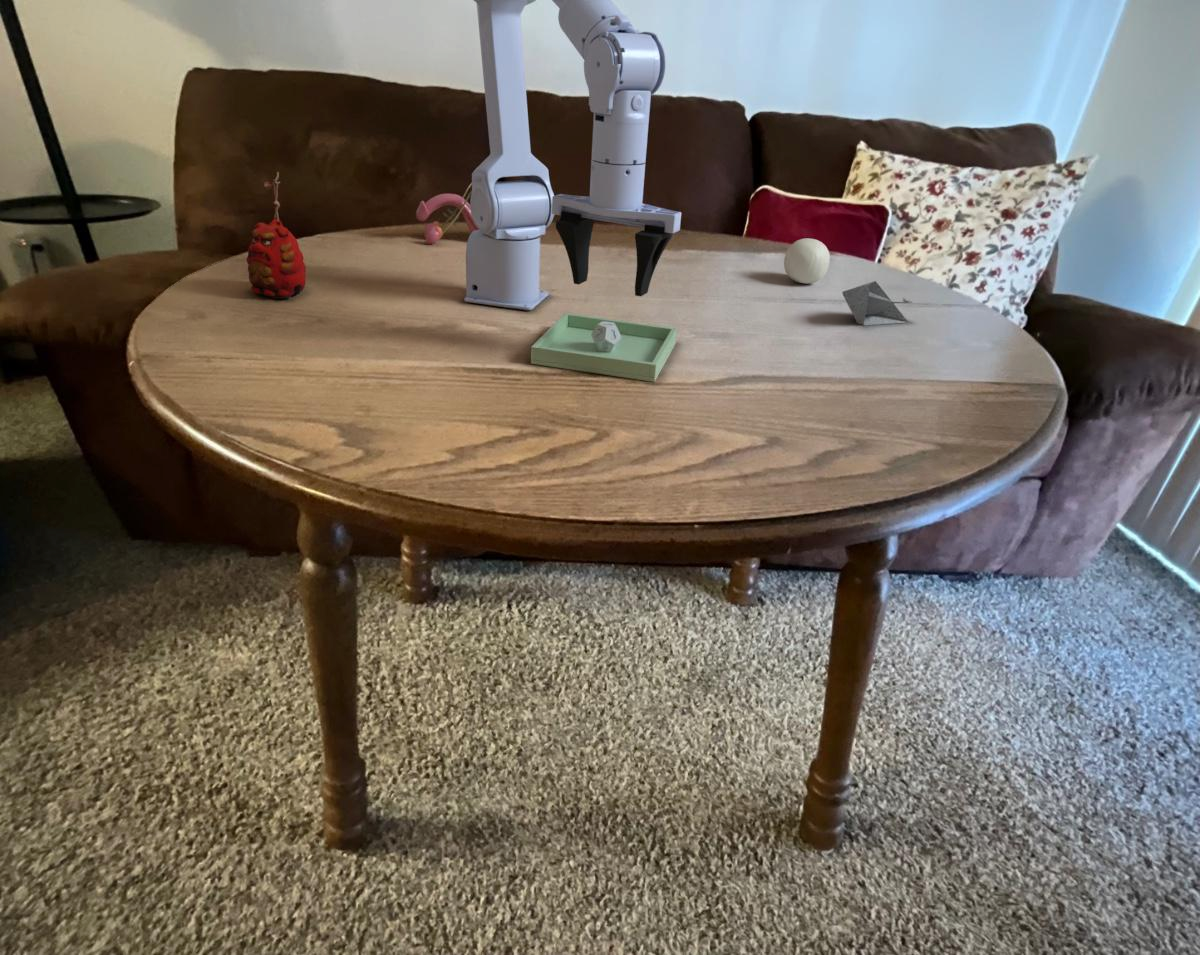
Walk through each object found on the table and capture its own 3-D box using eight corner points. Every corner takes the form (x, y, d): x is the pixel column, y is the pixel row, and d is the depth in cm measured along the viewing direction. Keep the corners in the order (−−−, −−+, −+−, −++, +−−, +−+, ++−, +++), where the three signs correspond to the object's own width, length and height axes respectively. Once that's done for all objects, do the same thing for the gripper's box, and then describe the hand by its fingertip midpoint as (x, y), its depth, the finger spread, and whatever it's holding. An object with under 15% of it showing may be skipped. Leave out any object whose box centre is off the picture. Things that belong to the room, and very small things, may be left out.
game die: (587, 344, 100) (588, 319, 98) (617, 343, 101) (619, 319, 99) (593, 354, 97) (594, 329, 96) (624, 354, 98) (626, 329, 96)
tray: (530, 363, 95) (531, 346, 94) (564, 328, 106) (564, 312, 105) (654, 382, 92) (656, 364, 91) (675, 343, 103) (677, 328, 102)
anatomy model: (403, 214, 143) (461, 145, 140) (464, 267, 150) (521, 203, 147) (406, 228, 134) (468, 155, 131) (471, 284, 141) (532, 216, 138)
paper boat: (872, 299, 121) (935, 297, 115) (862, 341, 121) (924, 342, 114) (833, 262, 113) (898, 258, 106) (821, 307, 112) (886, 306, 106)
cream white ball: (832, 281, 133) (840, 238, 130) (816, 291, 127) (824, 246, 124) (791, 273, 136) (798, 231, 133) (774, 282, 131) (781, 238, 127)
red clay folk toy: (238, 294, 110) (220, 174, 103) (275, 282, 116) (260, 167, 109) (285, 304, 108) (270, 182, 101) (321, 290, 114) (309, 174, 107)
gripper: (696, 165, 90) (682, 290, 96) (574, 149, 95) (569, 269, 101) (671, 173, 84) (659, 306, 90) (544, 156, 89) (541, 283, 96)
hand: (610, 288), depth 95 cm, fingers open, 7 cm apart
